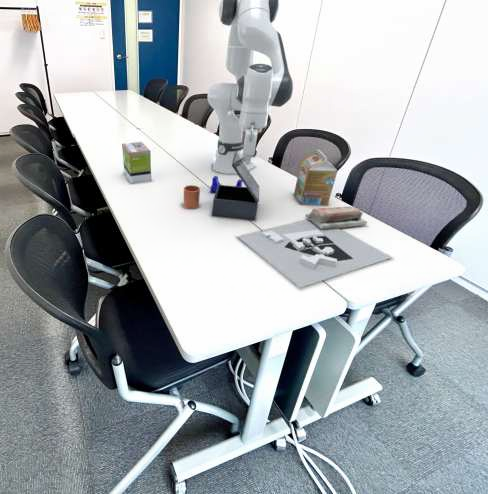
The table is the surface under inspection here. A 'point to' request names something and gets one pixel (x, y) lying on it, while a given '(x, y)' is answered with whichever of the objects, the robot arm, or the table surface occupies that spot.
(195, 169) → the table surface
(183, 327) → the table surface
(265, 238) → the architectural model
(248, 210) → the dark grey open box
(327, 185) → the milk carton
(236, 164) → the lid
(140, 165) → the tea box
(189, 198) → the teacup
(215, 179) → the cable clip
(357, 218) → the packaged product
